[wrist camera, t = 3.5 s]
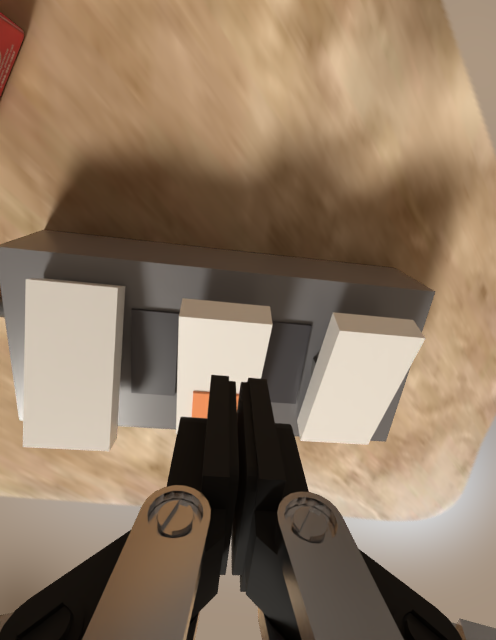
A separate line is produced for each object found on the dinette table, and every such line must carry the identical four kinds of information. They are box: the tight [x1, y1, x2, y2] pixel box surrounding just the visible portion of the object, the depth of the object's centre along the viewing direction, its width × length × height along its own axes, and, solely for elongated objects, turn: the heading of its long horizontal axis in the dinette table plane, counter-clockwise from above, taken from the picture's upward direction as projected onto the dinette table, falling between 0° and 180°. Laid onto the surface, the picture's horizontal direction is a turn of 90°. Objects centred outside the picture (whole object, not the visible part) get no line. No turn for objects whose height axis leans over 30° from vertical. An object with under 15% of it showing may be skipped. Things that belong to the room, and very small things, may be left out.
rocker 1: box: [23, 278, 125, 451], centre depth 18 cm, size 8×4×1 cm, turn 174°
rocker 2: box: [297, 312, 425, 445], centre depth 19 cm, size 8×4×1 cm, turn 173°
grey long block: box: [0, 230, 435, 441], centre depth 22 cm, size 10×27×6 cm, turn 83°
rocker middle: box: [176, 298, 273, 434], centre depth 18 cm, size 8×4×2 cm, turn 173°
